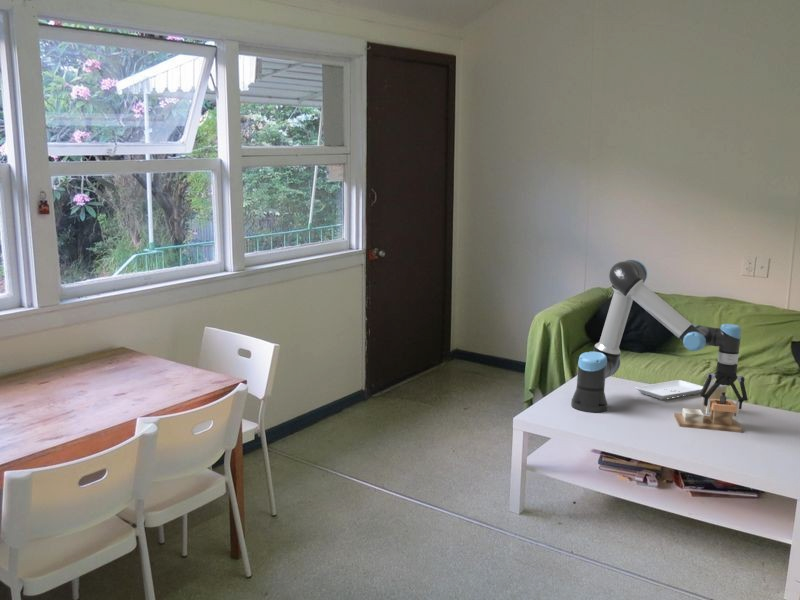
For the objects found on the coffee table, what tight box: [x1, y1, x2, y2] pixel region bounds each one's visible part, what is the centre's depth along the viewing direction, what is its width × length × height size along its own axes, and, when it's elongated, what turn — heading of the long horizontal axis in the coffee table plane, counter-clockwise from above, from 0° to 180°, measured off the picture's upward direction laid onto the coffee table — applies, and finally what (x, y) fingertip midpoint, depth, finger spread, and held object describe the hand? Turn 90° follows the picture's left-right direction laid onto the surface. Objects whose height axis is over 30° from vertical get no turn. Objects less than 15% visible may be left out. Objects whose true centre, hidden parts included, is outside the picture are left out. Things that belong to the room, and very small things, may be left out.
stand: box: [673, 395, 744, 433], centre depth 300 cm, size 24×14×12 cm, turn 78°
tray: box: [635, 379, 704, 400], centre depth 343 cm, size 17×32×4 cm, turn 120°
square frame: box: [710, 399, 737, 414], centre depth 299 cm, size 9×9×2 cm
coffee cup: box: [702, 380, 727, 413], centre depth 319 cm, size 9×9×12 cm
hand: (721, 415), depth 299 cm, fingers open, 10 cm apart
